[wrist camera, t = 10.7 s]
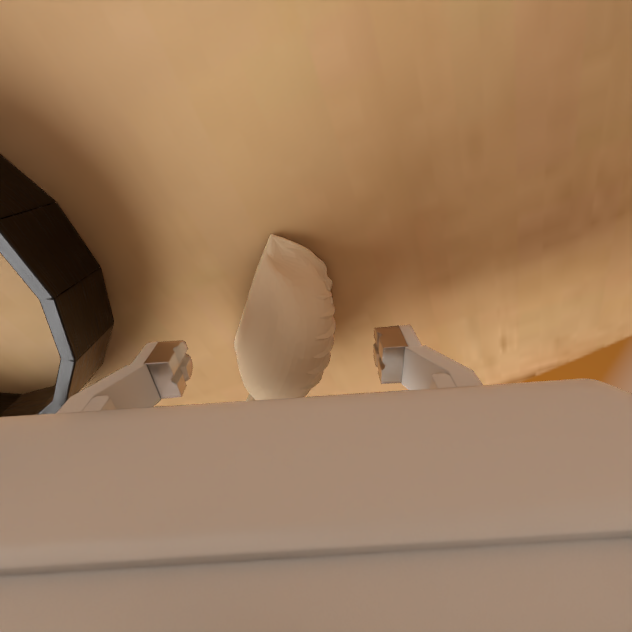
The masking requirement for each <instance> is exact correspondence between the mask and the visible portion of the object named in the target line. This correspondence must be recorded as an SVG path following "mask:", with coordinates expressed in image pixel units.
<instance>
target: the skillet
mask: <svg viewBox="0 0 632 632" xmlns="http://www.w3.org/2000/svg"><path fill="white" fill-rule="evenodd" d="M0 253H1V254H2V255H3V257H4V258H5V259H6V260H7V261H8V263H9V264H10V265H11V266H12V267H13V269H14V270H15V271H16V272H17V273H18V275H19V276H20V277H21V278H22V279H23V281H24V282H25V283H26V284H27V285H28V287H29V288H30V289H31V290H32V292H33V293H34V294H35V295H36V296H37V298H38V299H39V300H40V303H41V306H42V308H43V311H44V314H45V316H46V319H47V322H48V325H49V327H50V330H51V333H52V336H53V338H54V341H55V344H56V347H57V349H58V352H59V355H60V358H61V360H60V365H59V371H58V376H57V381H56V386H53V387H49V388H45V389H41V390H37V391H34V392H30V393H26V394H10V393H0V417H9V416H25V415H40V414H55V413H57V411H58V410H59V409H60V408H61V407H62V406H63V405H64V404H65V402H66V401H67V400H68V399H69V398H70V397H71V396H73V395H75V394H76V393H78V392H79V391H80V390H81V388H82V387H83V386H84V385H85V384H86V383H87V381H88V380H89V379H90V378H91V377H92V376H93V374H94V373H95V372H96V371H97V370H98V369H99V368H100V366H101V365H102V364H103V360H104V357H105V353H106V349H107V346H108V342H109V339H110V335H111V331H112V328H113V324H114V323H113V322H114V321H113V316H112V312H111V308H110V304H109V300H108V296H107V292H106V288H105V284H104V279H103V275H102V271H101V268H99V267H100V266H99V264H98V263H97V261H96V260H95V258H94V257H93V255H92V254H91V252H90V251H89V249H88V248H87V246H86V245H85V244H84V242H83V241H82V239H81V238H80V236H79V235H78V233H77V232H76V230H75V229H74V227H73V226H72V224H71V223H70V221H69V220H68V218H67V217H66V216H65V214H64V213H63V211H62V210H61V208H60V207H59V205H58V204H57V203H55V200H53V199H52V198H51V197H50V196H49V195H48V194H46V193H45V192H44V191H43V190H42V189H40V188H39V187H38V186H37V185H36V184H35V183H33V182H32V181H31V180H30V179H29V178H28V177H26V176H25V175H24V174H23V173H22V172H20V171H19V170H18V169H17V168H16V167H15V166H13V165H12V164H11V163H10V162H9V161H7V160H6V159H5V158H4V157H3V156H2V155H0Z"/></svg>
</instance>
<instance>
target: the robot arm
mask: <svg viewBox="0 0 632 632" xmlns="http://www.w3.org/2000/svg"><path fill="white" fill-rule="evenodd" d="M374 338H375V344H374V345H373V352H374V361H375V365H376V366H377V367H378V375H379V378H380V381H381V384H385V383H402V384H403V385H404V386H405V387H406V388H407V389H408V390H404V391H389V392H374V393H359V394H343V395H328V396H313V397H298V398H283V399H268V400H253V401H237V402H222V403H207V404H192V405H177V406H162V407H153V406H154V405H156V404H157V403H158V402H159V401H160V400H161V399H163V398H174V397H182V394H183V392H184V390H185V388H186V386H187V385H186V381H187V380H188V379H190V377H191V375H192V370H193V364H192V359H191V357H190V356H189V355H188V354H186V352H187V350H188V347H187V345H186V342H185V341H183V340H182V341H161V342H149V343H146V344H145V346H144V347H143V348H142V350H141V351H140V352H139V354H138V355H137V356H136V358H135V359H134V360H133V362H132V363H131V364H130V365H127V366H125V367H123V368H121V369H119V370H117V371H116V372H114V373H112V374H110V375H108V376H107V377H105V378H103V379H101V380H100V381H98V382H96V383H94V384H92V385H91V386H89V387H87V388H85V389H84V390H82V391H80V392H78V393H76V394H75V395H73V396H71V397H70V398H69V399H68V400H67V401H66V402H65V404H64V405H63V406H62V407H61V408H60V409H59V410H58V411H57V413H55V414H40V415H25V416H9V417H0V632H632V393H629V392H627V391H624V390H622V389H619V388H617V387H614V386H612V385H609V384H607V383H604V382H601V381H598V380H593V379H570V380H557V381H542V382H526V383H511V384H496V385H483V384H482V383H481V381H480V380H479V379H478V377H477V376H476V374H475V373H474V371H473V370H471V369H469V368H467V367H465V366H463V365H462V364H460V363H458V362H456V361H454V360H452V359H450V358H448V357H446V356H444V355H442V354H441V353H439V352H437V351H435V350H433V349H431V348H429V347H427V346H422V345H421V343H420V341H419V339H418V337H417V336H416V334H415V332H414V330H413V328H412V326H411V325H400V326H390V327H379V328H374Z"/></svg>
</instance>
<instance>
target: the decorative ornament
mask: <svg viewBox="0 0 632 632" xmlns="http://www.w3.org/2000/svg"><path fill="white" fill-rule="evenodd" d="M331 287H332V280H331V279H330V278H329V277H328V276H327V267H326V265H325V263H324V262H323V261H322V260H320V259H319V258H318V257H317V256H316V255H315V254H314V253H313V252H312V251H310V250H309V249H307V248H306V247H304V246H302V245H300V244H298V243H295V242H293V241H290V240H288V239H285V238H283V237H280V236H277V235H273V234H271V235H270V237H269V239H268V242H267V244H266V246H265V249H264V251H263V254H262V256H261V259H260V262H259V264H258V267H257V270H256V273H255V275H254V278H253V282H252V285H251V288H250V291H249V294H248V297H247V301H246V304H245V307H244V311H243V314H242V317H241V320H240V323H239V326H238V330H237V333H236V337H235V341H234V349H235V351H236V355H237V362H238V367H239V371H240V375H241V378H242V381H243V384H244V386H245V388H246V389H247V391H248V392H249V395H248V397H247V399H246V401H253V400H268V399H283V398H298V397H305V396H306V395H307V394H308V392H309V391H310V390H311V388H313V387H314V386H316V385H317V384H318V383H319V381H320V380H321V378H322V375H323V370H324V369H325V368H326V367H327V366H328V363H329V361H330V356H331V355H330V351H331V349H332V347H333V344H334V336H333V334H334V332H335V330H336V322H335V319H334V318H333V315H334V313H335V307H334V305H333V298H332V296H331V295H332V293H331V292H330V291H331Z"/></svg>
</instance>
